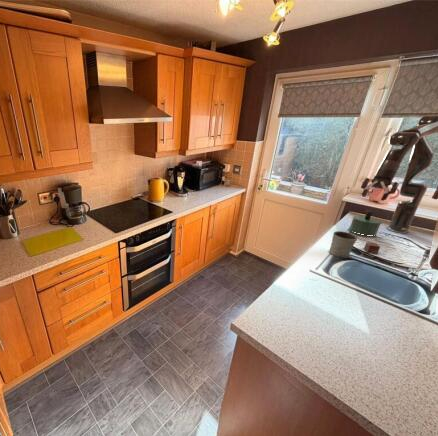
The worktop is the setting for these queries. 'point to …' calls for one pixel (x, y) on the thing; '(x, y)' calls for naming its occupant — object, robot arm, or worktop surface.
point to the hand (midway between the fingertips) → (372, 198)
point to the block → (372, 247)
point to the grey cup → (342, 244)
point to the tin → (364, 228)
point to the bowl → (367, 218)
